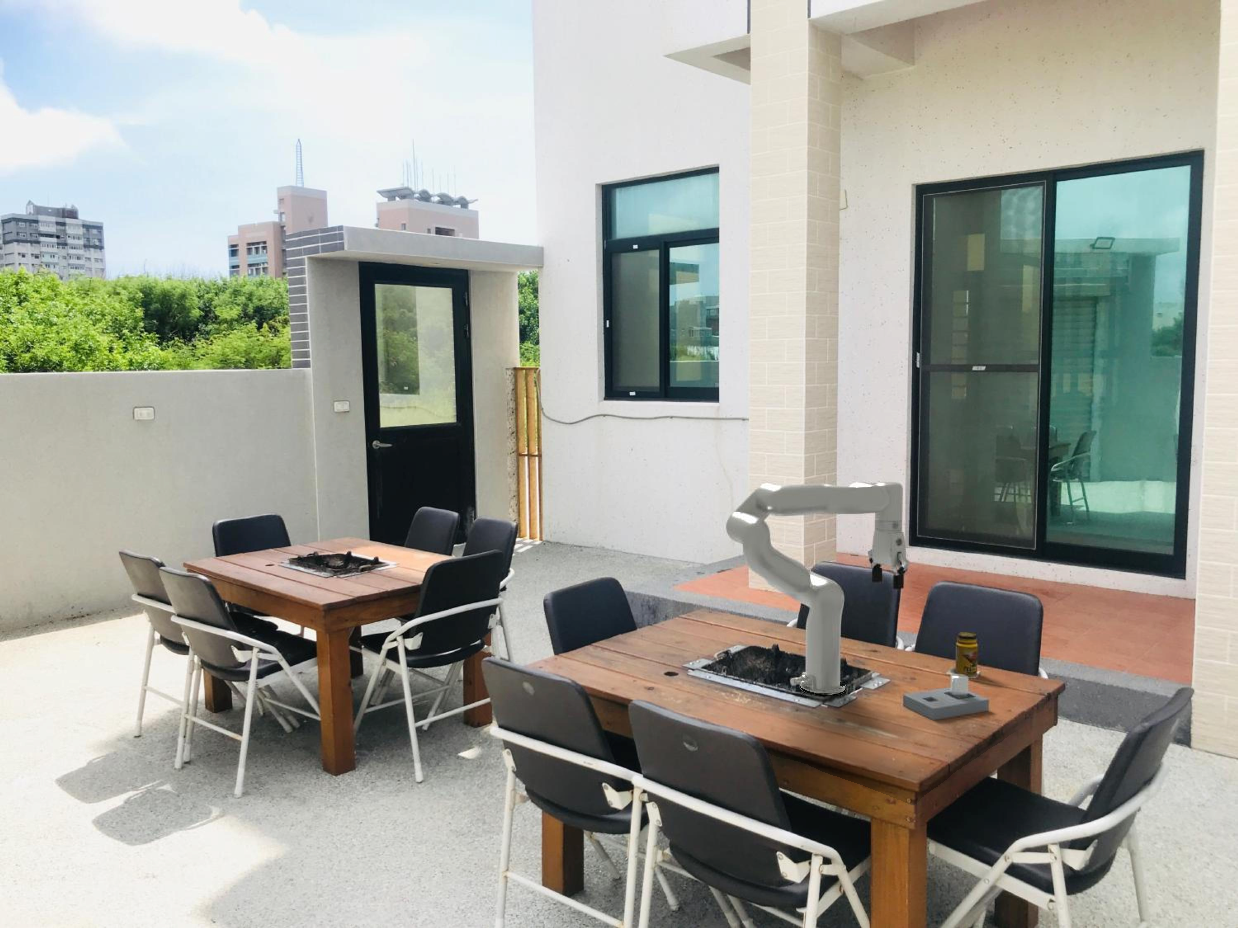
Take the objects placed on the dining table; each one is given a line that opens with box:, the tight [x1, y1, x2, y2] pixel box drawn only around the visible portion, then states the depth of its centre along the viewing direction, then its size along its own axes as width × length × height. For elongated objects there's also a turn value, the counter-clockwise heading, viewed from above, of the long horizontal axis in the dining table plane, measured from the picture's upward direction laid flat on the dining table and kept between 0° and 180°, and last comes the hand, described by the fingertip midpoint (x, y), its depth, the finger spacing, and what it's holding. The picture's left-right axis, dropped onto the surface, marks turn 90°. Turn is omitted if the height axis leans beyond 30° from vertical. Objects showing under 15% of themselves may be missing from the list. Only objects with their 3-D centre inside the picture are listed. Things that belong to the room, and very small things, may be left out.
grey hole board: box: [902, 686, 990, 721], centre depth 256 cm, size 18×12×3 cm, turn 112°
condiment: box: [945, 631, 981, 679], centre depth 285 cm, size 7×8×12 cm
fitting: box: [950, 673, 969, 700], centre depth 258 cm, size 4×4×8 cm
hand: (887, 585), depth 276 cm, fingers open, 9 cm apart
